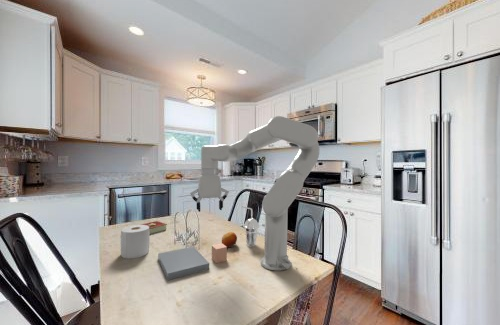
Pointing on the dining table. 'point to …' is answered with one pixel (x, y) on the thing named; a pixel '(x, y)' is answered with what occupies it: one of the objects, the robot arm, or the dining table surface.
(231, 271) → the dining table surface
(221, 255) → the terracotta block
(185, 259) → the slate board
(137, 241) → the toilet paper roll
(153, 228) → the hardcover book
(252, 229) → the cup with straw
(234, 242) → the fruit
